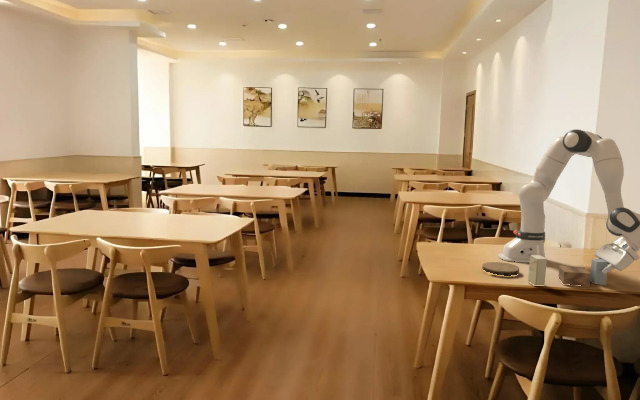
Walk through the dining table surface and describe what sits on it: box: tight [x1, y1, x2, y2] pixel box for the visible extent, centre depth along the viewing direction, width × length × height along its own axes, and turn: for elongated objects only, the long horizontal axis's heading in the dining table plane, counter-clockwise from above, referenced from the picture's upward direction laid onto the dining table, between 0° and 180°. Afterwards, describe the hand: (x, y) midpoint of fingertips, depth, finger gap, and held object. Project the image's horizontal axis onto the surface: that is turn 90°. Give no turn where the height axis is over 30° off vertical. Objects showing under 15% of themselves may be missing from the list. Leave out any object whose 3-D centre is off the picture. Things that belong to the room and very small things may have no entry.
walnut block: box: [558, 265, 591, 287], centre depth 213 cm, size 10×10×6 cm
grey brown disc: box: [481, 261, 520, 276], centre depth 229 cm, size 16×16×3 cm
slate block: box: [590, 258, 608, 286], centre depth 212 cm, size 4×4×10 cm
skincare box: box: [527, 255, 548, 286], centre depth 209 cm, size 6×4×12 cm
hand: (597, 269), depth 212 cm, fingers open, 7 cm apart
